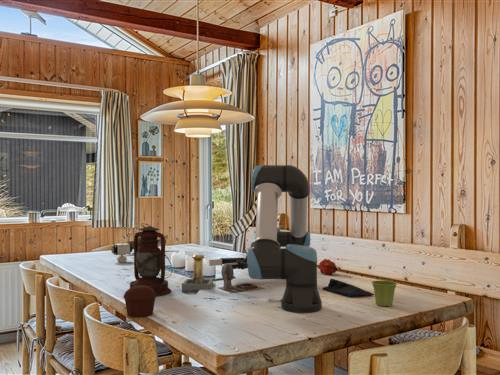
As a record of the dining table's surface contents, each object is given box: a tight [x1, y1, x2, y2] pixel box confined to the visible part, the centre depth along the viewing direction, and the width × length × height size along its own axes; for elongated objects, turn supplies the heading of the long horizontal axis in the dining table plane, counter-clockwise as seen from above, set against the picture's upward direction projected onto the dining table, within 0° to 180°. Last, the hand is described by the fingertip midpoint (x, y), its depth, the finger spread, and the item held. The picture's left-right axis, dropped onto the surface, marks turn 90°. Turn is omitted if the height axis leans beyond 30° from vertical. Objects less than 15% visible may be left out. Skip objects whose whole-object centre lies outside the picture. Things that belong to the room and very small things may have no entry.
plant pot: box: [371, 279, 398, 307], centre depth 188 cm, size 9×9×9 cm
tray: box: [181, 278, 214, 293], centre depth 217 cm, size 12×12×4 cm
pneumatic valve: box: [110, 241, 134, 263], centre depth 296 cm, size 6×12×12 cm, turn 125°
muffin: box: [122, 285, 157, 319], centre depth 174 cm, size 12×11×10 cm
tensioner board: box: [217, 264, 266, 294], centre depth 212 cm, size 13×17×12 cm
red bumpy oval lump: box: [317, 258, 339, 276], centre depth 254 cm, size 8×8×12 cm
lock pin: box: [191, 254, 205, 284], centre depth 217 cm, size 5×5×14 cm
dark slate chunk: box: [322, 278, 375, 298], centre depth 211 cm, size 15×22×5 cm
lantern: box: [129, 222, 173, 298], centre depth 210 cm, size 19×19×30 cm
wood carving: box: [123, 234, 169, 250], centre depth 341 cm, size 9×35×11 cm, turn 132°
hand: (216, 264), depth 222 cm, fingers open, 13 cm apart
